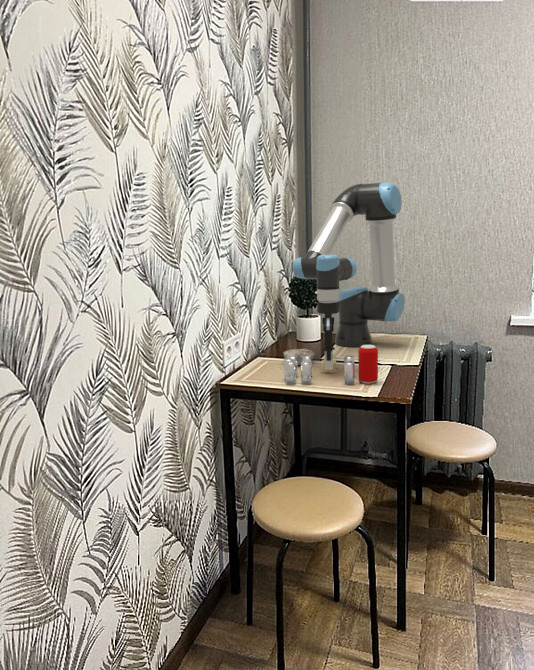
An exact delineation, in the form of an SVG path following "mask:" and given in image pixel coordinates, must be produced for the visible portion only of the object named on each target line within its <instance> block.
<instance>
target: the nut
mask: <svg viewBox="0 0 534 670" xmlns="http://www.w3.org/2000/svg"><path fill="white" fill-rule="evenodd" d="M320 365H321V368H320V369H321V373H322V374H325V373H326V374H328V373H329V374H336V373H337V360H336V359H333V370H325V359H321V364H320Z"/></svg>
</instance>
